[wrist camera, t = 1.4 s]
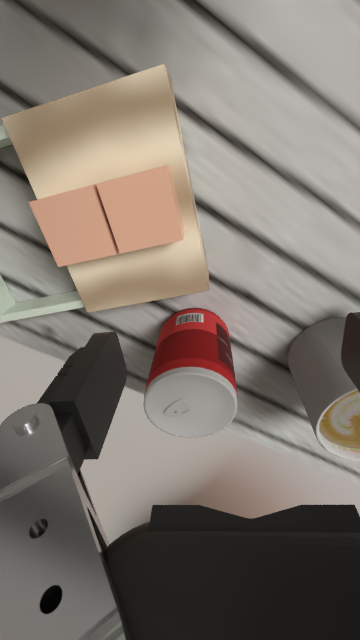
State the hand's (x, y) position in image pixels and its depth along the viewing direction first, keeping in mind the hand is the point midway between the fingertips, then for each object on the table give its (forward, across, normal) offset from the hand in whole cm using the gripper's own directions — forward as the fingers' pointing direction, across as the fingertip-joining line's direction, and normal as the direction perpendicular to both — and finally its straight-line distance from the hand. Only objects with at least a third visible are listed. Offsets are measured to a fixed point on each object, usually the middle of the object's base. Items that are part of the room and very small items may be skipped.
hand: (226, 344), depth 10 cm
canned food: (+20, +3, +11) cm, 23 cm away
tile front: (+15, +5, -3) cm, 16 cm away
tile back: (+15, +10, -3) cm, 19 cm away
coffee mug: (+20, -13, +14) cm, 28 cm away
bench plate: (+19, +7, -3) cm, 21 cm away
